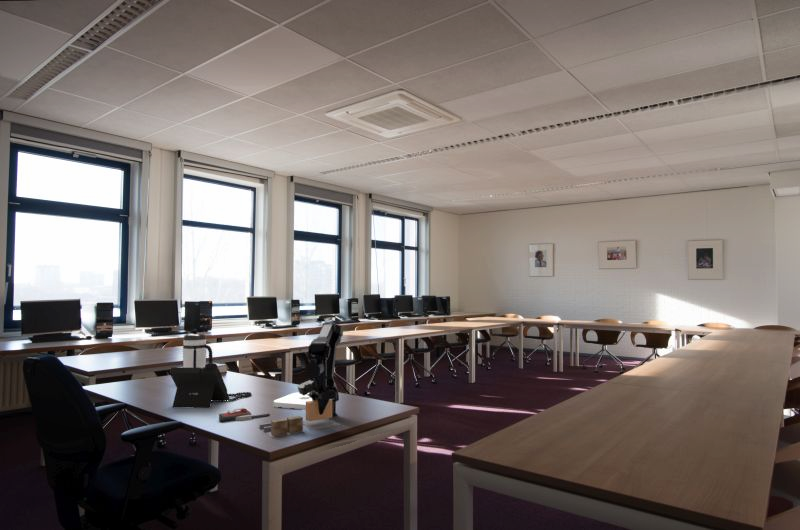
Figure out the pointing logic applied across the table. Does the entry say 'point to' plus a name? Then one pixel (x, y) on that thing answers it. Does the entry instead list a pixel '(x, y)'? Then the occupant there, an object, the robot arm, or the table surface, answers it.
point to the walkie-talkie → (238, 415)
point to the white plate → (293, 401)
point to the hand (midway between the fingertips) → (319, 413)
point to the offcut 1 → (278, 427)
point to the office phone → (200, 386)
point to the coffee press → (195, 350)
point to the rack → (267, 429)
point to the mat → (320, 423)
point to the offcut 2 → (294, 424)
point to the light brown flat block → (317, 411)
